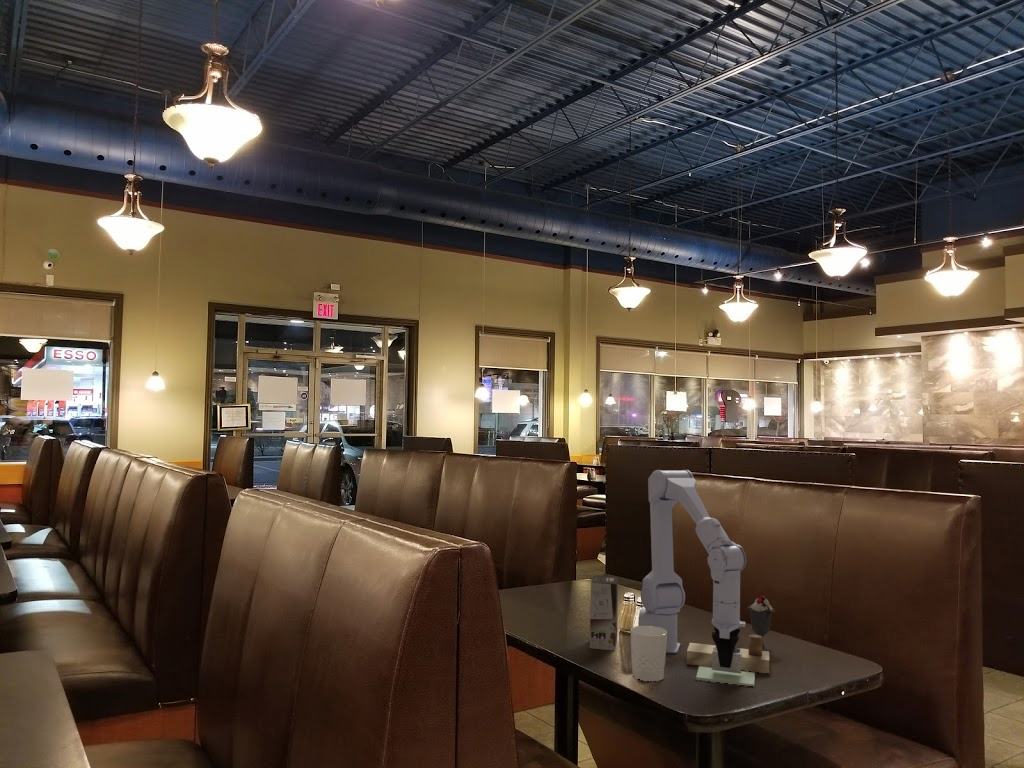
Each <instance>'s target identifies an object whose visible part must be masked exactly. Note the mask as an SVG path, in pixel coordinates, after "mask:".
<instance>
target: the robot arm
mask: <svg viewBox="0 0 1024 768" xmlns="http://www.w3.org/2000/svg"><path fill="white" fill-rule="evenodd" d="M647 483H648V484H647V489H648V502H649V510H650V513H649V514H650V540H651V541H650V542H651V543H650V545H651V548H650V549H651V571H650V572H649V573H648V574H647V575H645V577H644V578H643V579H642V587H641V591H640V601H641V604H642V606H643V608H644V609H639V614H638V623H637V624H638V625H637V626H654V627H659V628H662V629H665V630H666V631H667V642H666V653H670V654H677V653H678V651H679V649H680V646H681V643H680V642H678V613H680V612H681V609H682V608H683V606H684V604H685V601H686V594H685V593H686V592H685V590H684V587H683V579H682V578H681V577H680V576H679V574H677V573H676V572H675V567H674V537H673V535H674V534H673V507H675V505H676V504H677V503H678V502H679V503H680V504H681V505H682V507H683V508H684V509H685V510H686V512H687V513H688V515H689V516H690V517H691V520H693V522H694V523H695V524H696V526H695V534H696V535H697V537H698V539H699V540H700V542H701V543H702V545H703V547H704V549H705V551H706V552H707V554H708V556H707V565H708V566H709V569H710V576H711V579H712V580H713V581H712V584H713V585H712V619H711V624H712V625H713V629H714V631H712V633H711V637H712V640H713V642H714V644H715V646H716V648H717V652H718V658H719V663H720V667H725V668H730V667H731V663H732V657H733V652H734V648H736V645H737V643H738V641H739V639H740V636H738V635H739V634H740V631H741V628H745V627H746V621H741V572H742V571H743V570H744V569H745V567H746V564H747V556H746V552H745V551H744V548H743V547H742V546H741V545H740V544H737V543H735V542H734V541H732V540H731V538H729V535H728V534H727V533H726V530H724V528H723V527H722V525H721V522H720V521H719V520H718V519H717V518H714V517H710V515H709V513H708V511H707V509H706V507H705V505H704V503H703V501H702V500H701V497H700V496H699V494H698V492H697V480H696V479H695V478H694V475H693V473H692V472H691V471H690V470H689V469H683V470H674V469H673V470H668V469H667V470H661V469H656V470H653V472H652V473H651V474H650V476H649V477H648V478H647Z"/></svg>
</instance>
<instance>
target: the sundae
mask: <svg viewBox="0 0 1024 768" xmlns="http://www.w3.org/2000/svg"><path fill="white" fill-rule="evenodd" d="M762 592H763V591H762V589H760V591H759V593H758V597H756V599H755V600H754V602H753V603H752V604H751V605H748V606H747V607H746V609H747V610H748V611H749V617H750V625H751V629H752V632H754V634H755V635H759V636H762V651H769V653H770V652H772V649H770V648H768V647H766V645H764V637H765V636H766V635H767V634H768V633H769V632H770V627H771V620H772V615H773V613H775V612H776V610H775V608H773V607H772V605H771V602H770V601H769V600H768V599H767V598H766V596H765V595H763V594H762Z"/></svg>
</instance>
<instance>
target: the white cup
mask: <svg viewBox="0 0 1024 768" xmlns="http://www.w3.org/2000/svg"><path fill="white" fill-rule="evenodd" d="M629 629H630V656H631V665H632V669H631V670H632V677H633V676H634V677H635V678H637V679H636V680H638V679H640V680H639V681H641V680H643V682H647V681H649V683H653V681H656V682H661V681H662V679H663V680H664V679H665V678H664V677H665V666H666V658H667V657H666V655H667V652H666V642H667V631H666V630H665V629H662V628H659V627H654V626H638V625H636V626H632V627H631V628H629ZM634 677H633V678H634ZM635 678H634V679H635ZM660 680H661V681H660ZM650 681H652V682H650Z"/></svg>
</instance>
